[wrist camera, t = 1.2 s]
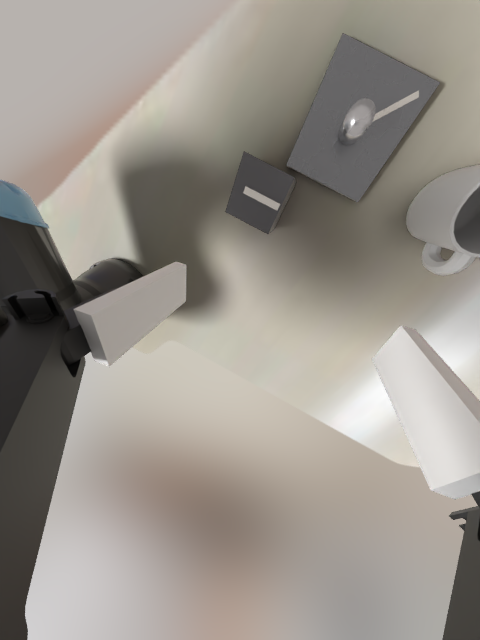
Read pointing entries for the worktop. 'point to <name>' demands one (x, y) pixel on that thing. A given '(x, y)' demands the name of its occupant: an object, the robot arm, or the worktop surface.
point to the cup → (448, 220)
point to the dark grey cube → (259, 193)
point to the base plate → (358, 117)
